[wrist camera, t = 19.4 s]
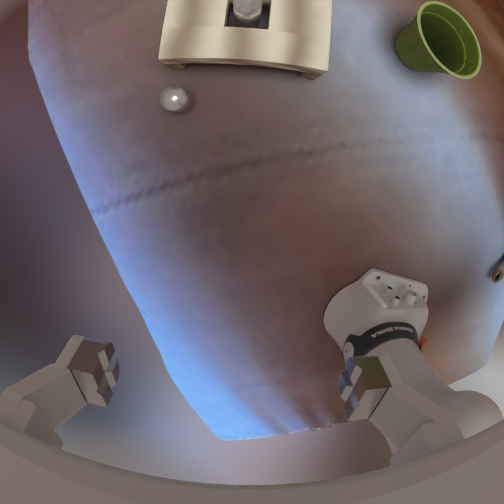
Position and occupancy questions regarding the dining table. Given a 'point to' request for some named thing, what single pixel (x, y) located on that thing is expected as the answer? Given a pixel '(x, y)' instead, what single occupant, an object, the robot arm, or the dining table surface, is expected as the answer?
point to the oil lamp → (498, 273)
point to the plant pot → (439, 42)
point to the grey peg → (247, 13)
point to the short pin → (176, 99)
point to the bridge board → (248, 36)
